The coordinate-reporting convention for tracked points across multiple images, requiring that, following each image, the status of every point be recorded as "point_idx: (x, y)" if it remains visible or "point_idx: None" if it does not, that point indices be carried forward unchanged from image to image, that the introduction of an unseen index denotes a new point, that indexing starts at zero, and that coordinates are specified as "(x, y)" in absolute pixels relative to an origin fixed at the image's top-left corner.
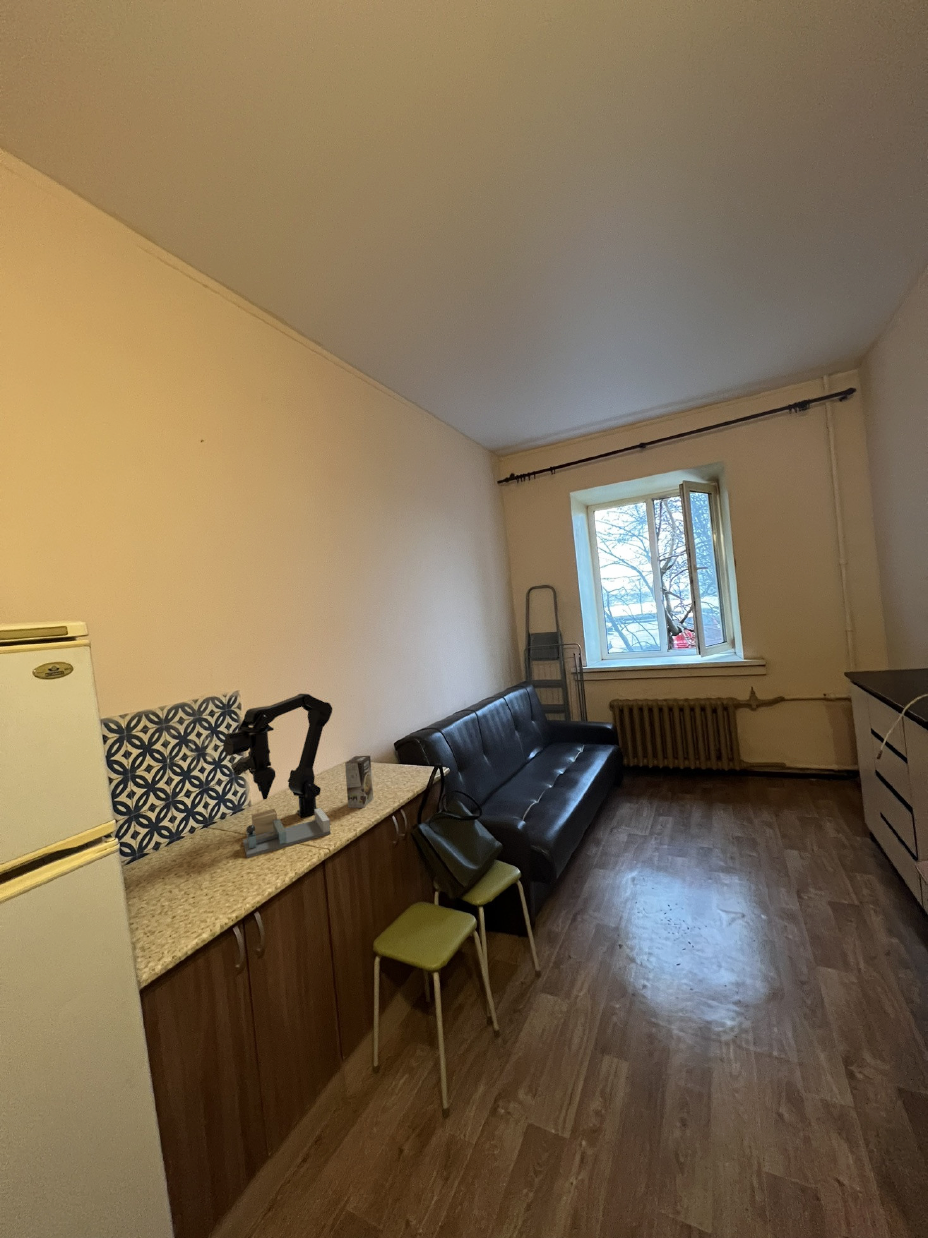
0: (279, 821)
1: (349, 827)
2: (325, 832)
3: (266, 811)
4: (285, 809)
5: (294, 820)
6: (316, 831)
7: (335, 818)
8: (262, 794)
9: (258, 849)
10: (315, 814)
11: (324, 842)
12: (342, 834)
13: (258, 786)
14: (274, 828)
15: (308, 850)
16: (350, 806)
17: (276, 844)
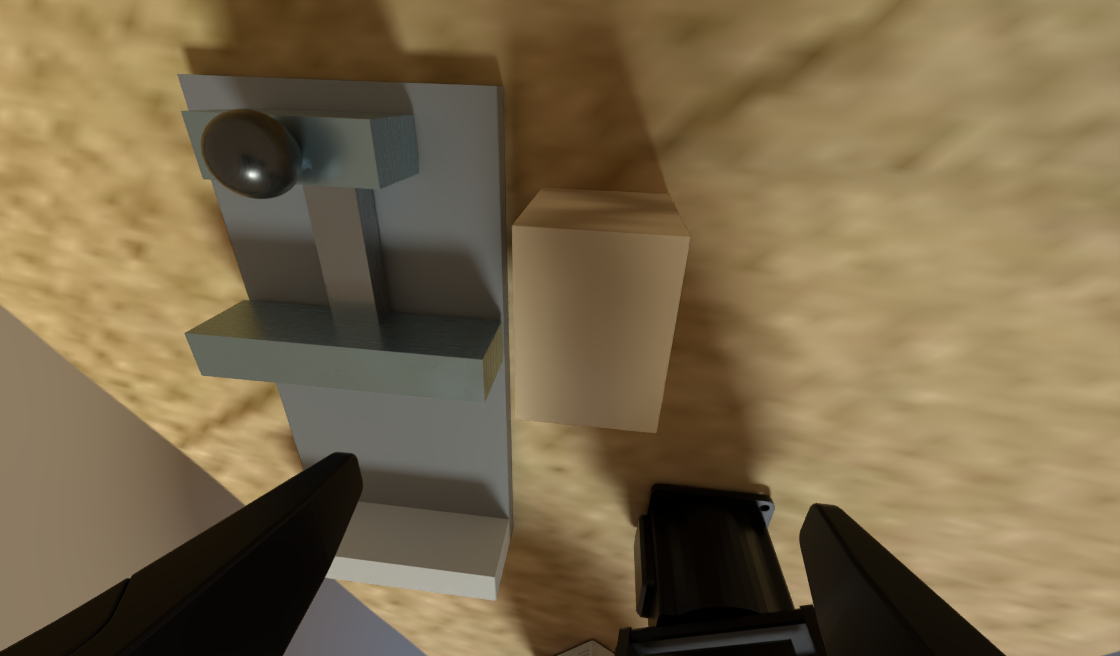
0: (420, 389)
1: None
2: None
3: (638, 369)
4: (912, 465)
5: (648, 450)
6: None
7: (505, 572)
8: (240, 517)
9: None
10: (475, 552)
11: (247, 462)
12: None
13: (869, 590)
14: (430, 332)
15: (184, 390)
16: (582, 649)
17: (266, 284)
